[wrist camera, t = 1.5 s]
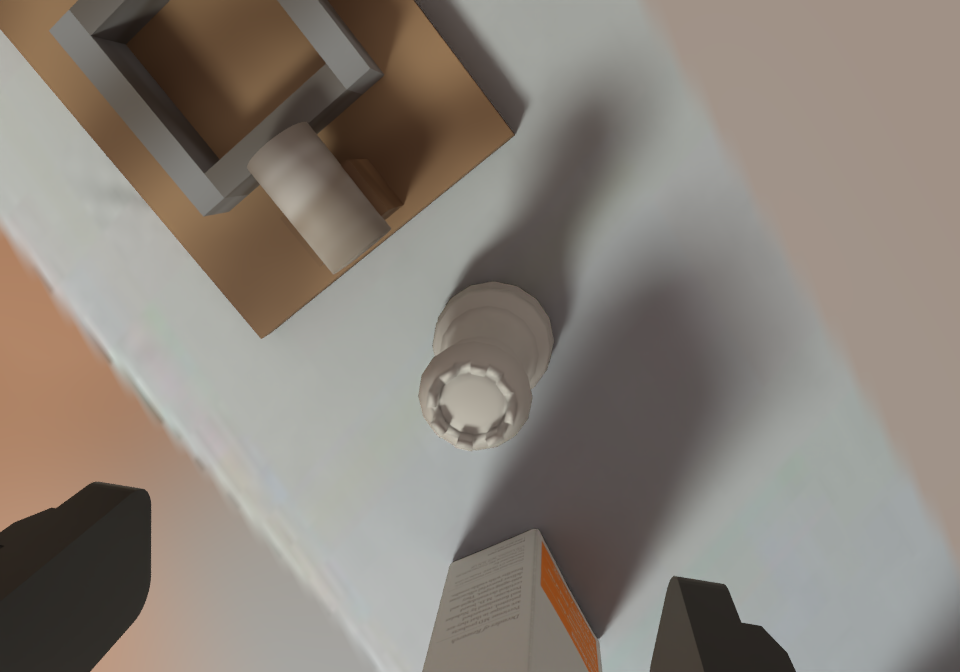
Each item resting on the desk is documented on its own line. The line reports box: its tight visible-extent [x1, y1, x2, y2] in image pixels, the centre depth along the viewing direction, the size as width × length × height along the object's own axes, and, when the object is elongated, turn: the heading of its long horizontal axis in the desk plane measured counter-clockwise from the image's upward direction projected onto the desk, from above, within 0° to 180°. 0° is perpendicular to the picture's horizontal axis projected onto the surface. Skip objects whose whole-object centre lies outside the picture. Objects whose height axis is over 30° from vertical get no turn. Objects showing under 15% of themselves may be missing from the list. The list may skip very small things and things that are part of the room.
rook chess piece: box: [418, 281, 554, 451], centre depth 24 cm, size 4×4×8 cm
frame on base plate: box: [0, 0, 515, 339], centre depth 24 cm, size 16×12×5 cm
